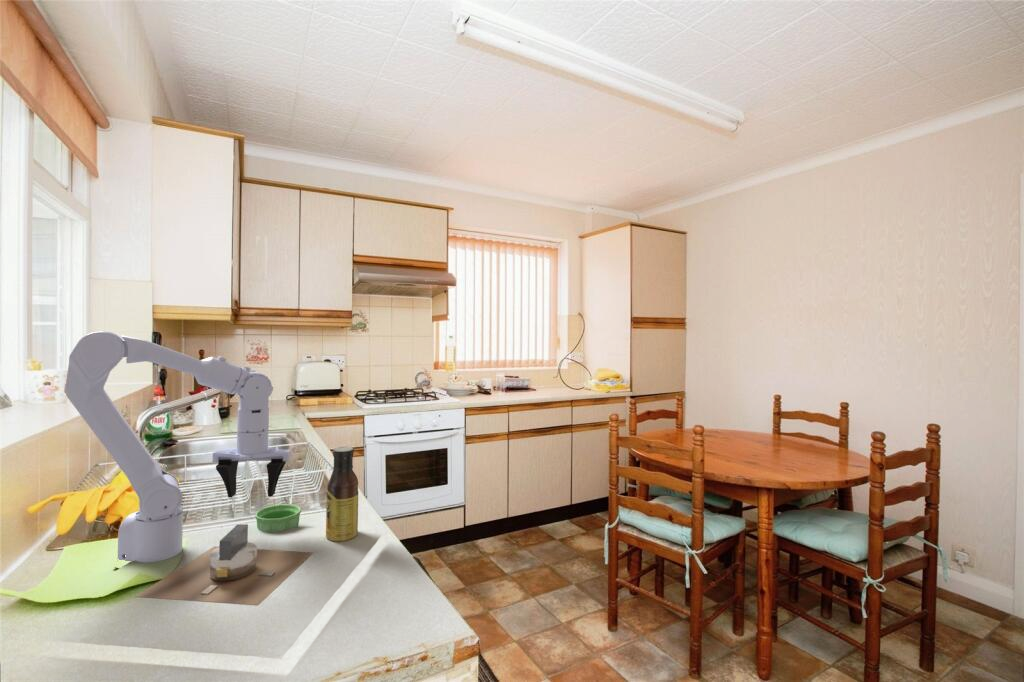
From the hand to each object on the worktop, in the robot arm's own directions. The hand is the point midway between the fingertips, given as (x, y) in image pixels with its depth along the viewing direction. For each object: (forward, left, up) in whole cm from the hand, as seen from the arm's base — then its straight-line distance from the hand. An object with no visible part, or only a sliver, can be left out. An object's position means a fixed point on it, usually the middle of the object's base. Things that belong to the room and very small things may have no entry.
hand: (251, 495), depth 99 cm
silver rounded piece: (+7, -15, -8) cm, 19 cm away
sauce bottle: (+19, +2, -10) cm, 21 cm away
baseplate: (+7, -15, -9) cm, 19 cm away
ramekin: (+3, +6, -10) cm, 12 cm away
